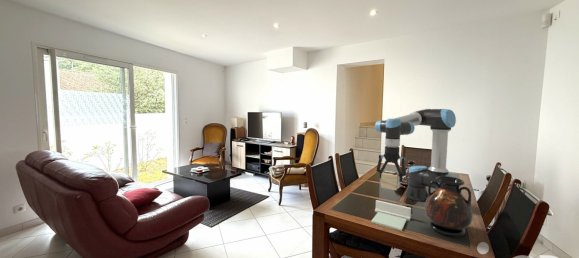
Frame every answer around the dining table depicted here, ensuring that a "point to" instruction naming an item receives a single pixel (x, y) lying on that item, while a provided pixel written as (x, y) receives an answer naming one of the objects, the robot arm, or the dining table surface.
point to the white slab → (393, 209)
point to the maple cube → (389, 180)
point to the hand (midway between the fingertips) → (390, 185)
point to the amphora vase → (448, 207)
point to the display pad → (389, 221)
